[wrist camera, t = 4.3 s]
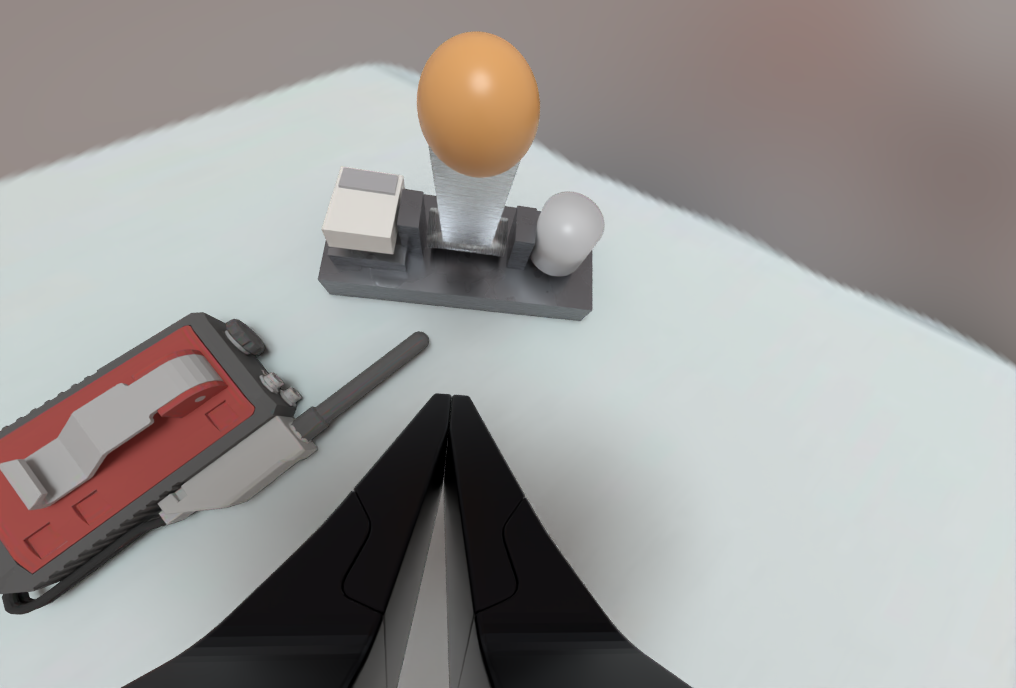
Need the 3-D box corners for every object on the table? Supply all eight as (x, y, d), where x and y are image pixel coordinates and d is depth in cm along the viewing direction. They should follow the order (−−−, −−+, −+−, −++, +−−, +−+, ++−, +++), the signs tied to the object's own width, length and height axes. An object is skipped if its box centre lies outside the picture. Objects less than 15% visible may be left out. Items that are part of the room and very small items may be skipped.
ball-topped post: (500, 268, 21) (569, 154, 8) (428, 260, 20) (376, 121, 7) (505, 216, 21) (583, 15, 8) (433, 205, 20) (390, -29, 7)
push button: (582, 279, 21) (604, 254, 18) (526, 272, 20) (540, 245, 17) (583, 229, 21) (603, 196, 18) (529, 221, 21) (542, 187, 18)
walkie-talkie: (80, 640, 16) (439, 354, 22) (-52, 713, 12) (437, 335, 17) (-28, 484, 17) (347, 246, 22) (-189, 500, 13) (323, 202, 18)
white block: (393, 254, 18) (389, 235, 17) (328, 246, 18) (320, 226, 16) (405, 194, 20) (402, 173, 18) (346, 185, 19) (340, 163, 18)
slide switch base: (580, 320, 23) (614, 290, 18) (329, 293, 21) (294, 251, 16) (580, 236, 25) (612, 187, 20) (347, 203, 23) (320, 140, 18)
